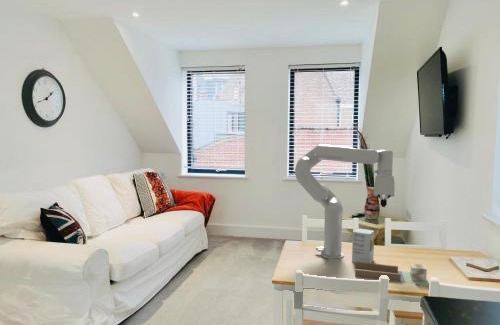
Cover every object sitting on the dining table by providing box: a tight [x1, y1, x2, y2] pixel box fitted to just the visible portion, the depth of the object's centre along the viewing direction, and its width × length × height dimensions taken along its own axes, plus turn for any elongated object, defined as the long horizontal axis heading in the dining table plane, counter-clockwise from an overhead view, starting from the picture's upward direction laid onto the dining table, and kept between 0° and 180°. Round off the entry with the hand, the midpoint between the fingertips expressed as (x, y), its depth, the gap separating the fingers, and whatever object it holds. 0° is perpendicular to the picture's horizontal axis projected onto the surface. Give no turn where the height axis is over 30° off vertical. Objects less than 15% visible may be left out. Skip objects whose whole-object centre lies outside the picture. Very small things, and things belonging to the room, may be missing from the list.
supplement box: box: [351, 227, 375, 263], centre depth 189 cm, size 10×9×17 cm
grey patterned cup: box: [409, 263, 428, 282], centre depth 165 cm, size 6×6×6 cm
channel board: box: [354, 262, 430, 287], centre depth 169 cm, size 32×14×4 cm, turn 74°
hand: (383, 206), depth 191 cm, fingers closed
